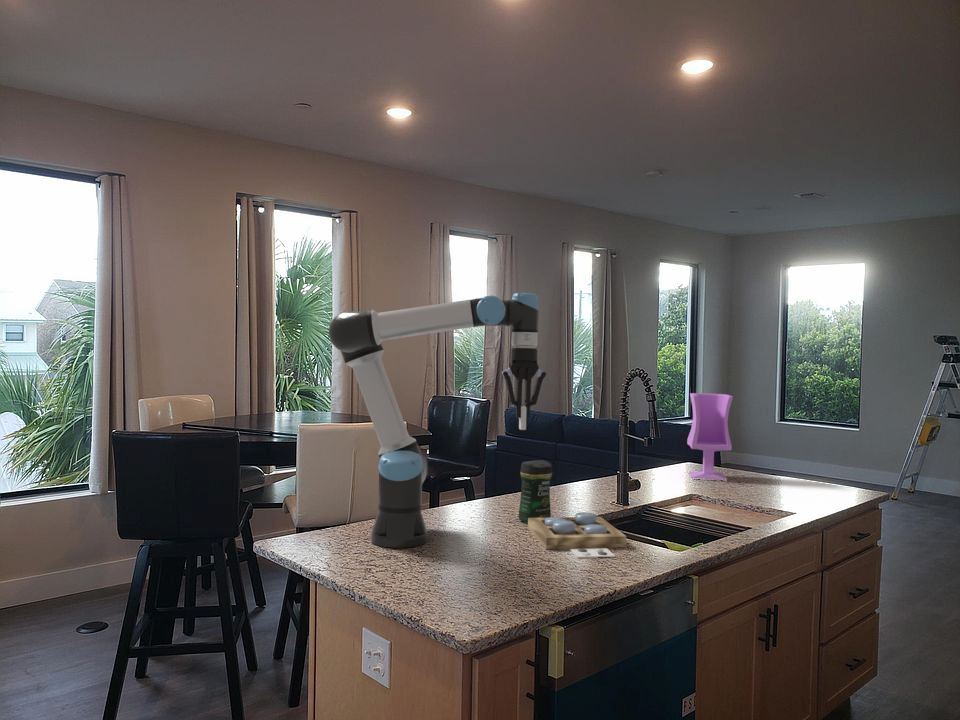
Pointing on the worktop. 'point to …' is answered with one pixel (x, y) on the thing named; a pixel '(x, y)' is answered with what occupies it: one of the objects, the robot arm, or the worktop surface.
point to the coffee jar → (535, 490)
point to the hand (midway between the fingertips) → (522, 429)
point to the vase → (709, 430)
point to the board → (576, 536)
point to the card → (592, 553)
